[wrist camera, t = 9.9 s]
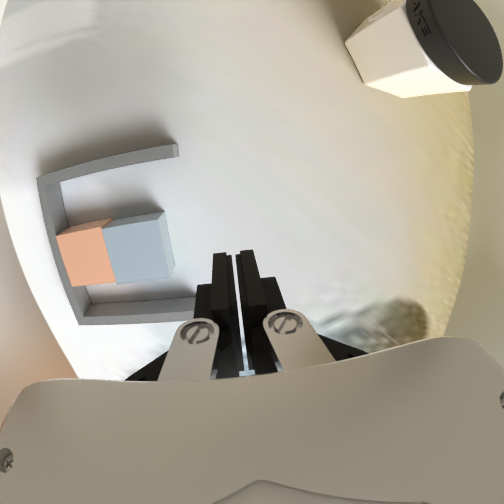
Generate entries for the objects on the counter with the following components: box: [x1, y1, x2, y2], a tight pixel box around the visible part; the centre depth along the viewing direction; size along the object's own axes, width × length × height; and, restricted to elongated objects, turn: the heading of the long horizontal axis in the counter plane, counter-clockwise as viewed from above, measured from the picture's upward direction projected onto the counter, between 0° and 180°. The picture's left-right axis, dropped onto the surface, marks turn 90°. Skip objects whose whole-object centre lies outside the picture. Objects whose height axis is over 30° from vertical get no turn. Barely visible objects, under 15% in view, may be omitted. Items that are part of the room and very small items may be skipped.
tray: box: [36, 144, 196, 325], centre depth 22 cm, size 15×13×2 cm
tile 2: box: [56, 218, 116, 287], centre depth 22 cm, size 5×5×3 cm
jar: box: [345, 0, 503, 98], centre depth 13 cm, size 9×8×12 cm
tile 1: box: [102, 211, 175, 284], centre depth 22 cm, size 5×5×3 cm
